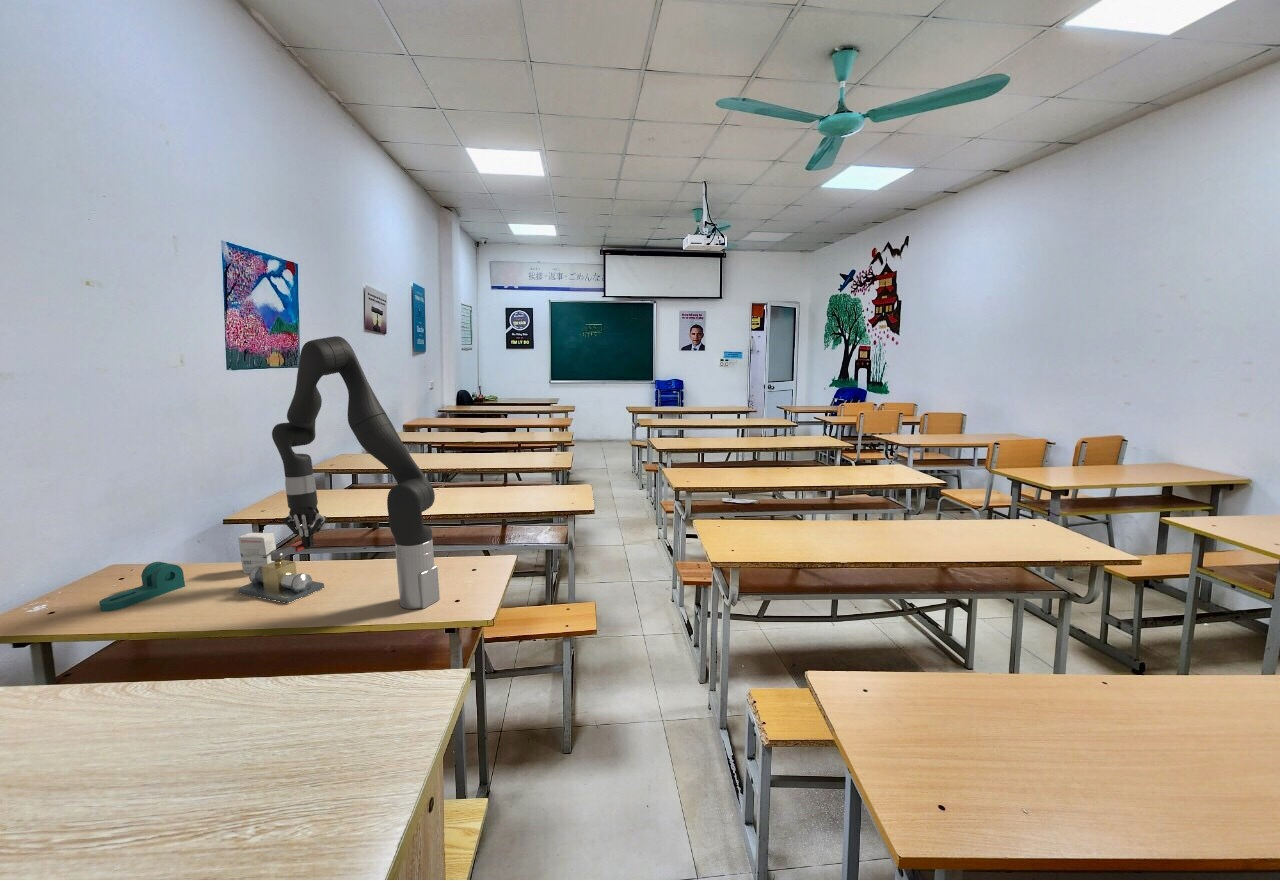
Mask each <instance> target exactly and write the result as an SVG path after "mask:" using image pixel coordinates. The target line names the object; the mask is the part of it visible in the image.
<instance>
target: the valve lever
mask: <svg viewBox="0 0 1280 881" xmlns="http://www.w3.org/2000/svg"><path fill="white" fill-rule="evenodd" d="M303 550H305V549H304V547H303V546H302V540H299V541H297V542H294V543H291V544H290V545H289V546H288V547H285V548H284V549H281V550H276V552H272V553H271V561H279V560H285V559H286V556H289V555H291V554H293V553H298V552H300V551H303Z"/></svg>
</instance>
